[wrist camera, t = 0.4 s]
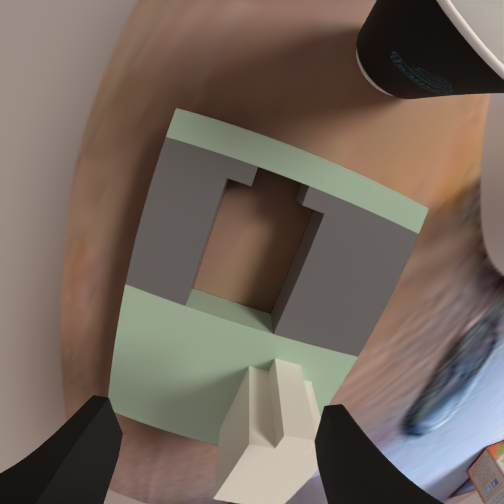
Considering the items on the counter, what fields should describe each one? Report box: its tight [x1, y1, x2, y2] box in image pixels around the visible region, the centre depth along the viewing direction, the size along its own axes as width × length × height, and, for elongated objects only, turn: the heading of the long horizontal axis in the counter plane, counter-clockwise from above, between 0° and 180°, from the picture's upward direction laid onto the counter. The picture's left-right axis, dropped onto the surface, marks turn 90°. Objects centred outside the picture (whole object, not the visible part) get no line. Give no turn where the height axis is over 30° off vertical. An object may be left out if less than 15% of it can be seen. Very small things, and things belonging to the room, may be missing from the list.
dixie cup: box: [356, 0, 504, 99], centre depth 10 cm, size 8×8×11 cm
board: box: [108, 108, 428, 445], centre depth 18 cm, size 20×14×2 cm
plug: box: [213, 359, 321, 504], centre depth 16 cm, size 11×4×6 cm, turn 160°
